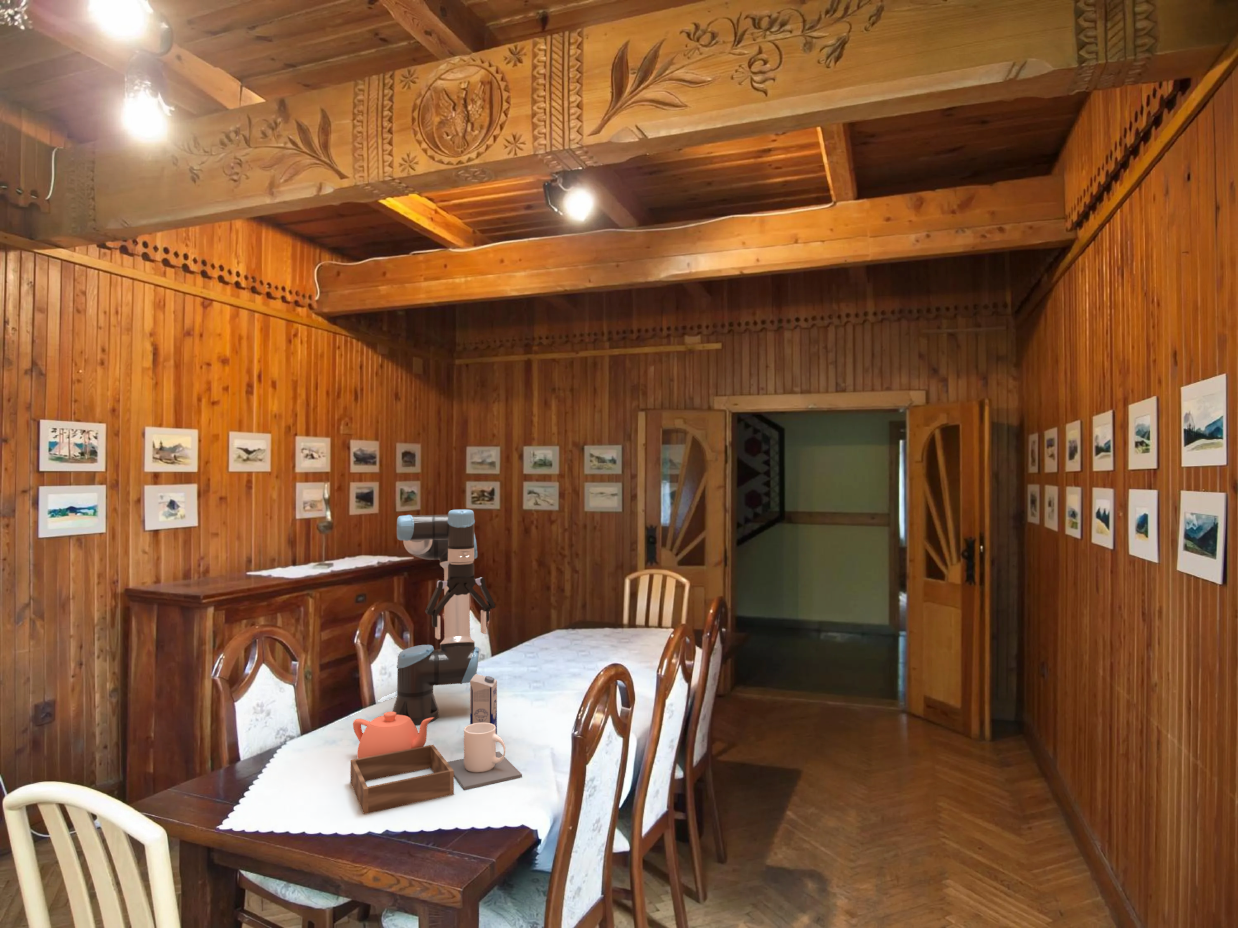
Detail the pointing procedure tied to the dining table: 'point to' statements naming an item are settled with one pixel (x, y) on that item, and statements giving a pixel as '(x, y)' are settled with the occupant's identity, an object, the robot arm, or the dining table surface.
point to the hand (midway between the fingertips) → (460, 635)
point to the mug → (481, 747)
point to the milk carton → (483, 700)
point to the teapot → (389, 734)
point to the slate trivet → (484, 773)
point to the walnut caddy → (401, 789)
